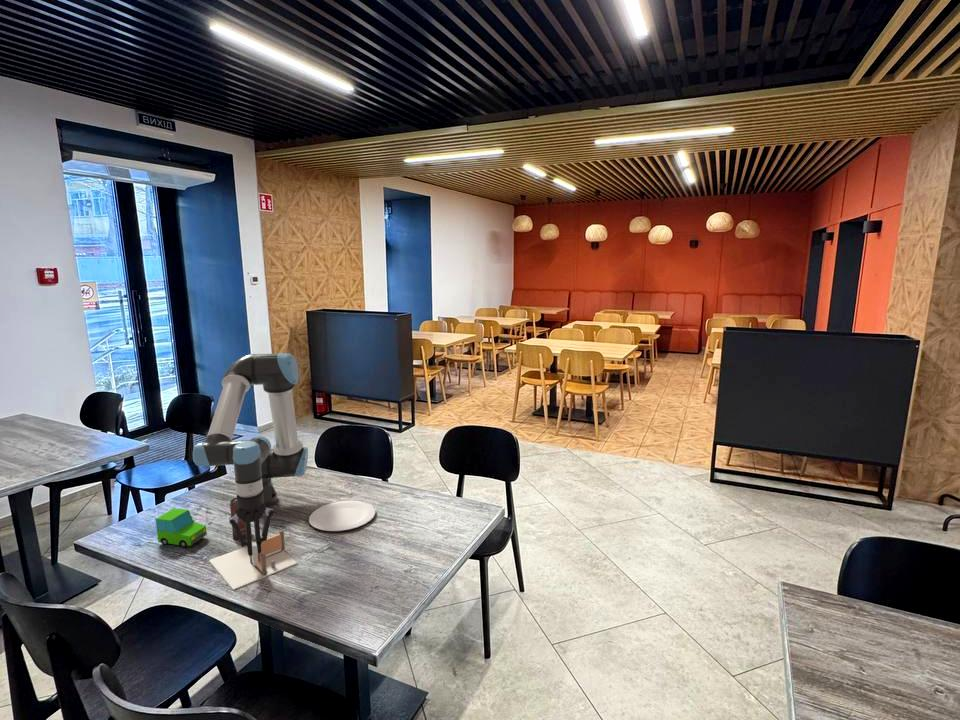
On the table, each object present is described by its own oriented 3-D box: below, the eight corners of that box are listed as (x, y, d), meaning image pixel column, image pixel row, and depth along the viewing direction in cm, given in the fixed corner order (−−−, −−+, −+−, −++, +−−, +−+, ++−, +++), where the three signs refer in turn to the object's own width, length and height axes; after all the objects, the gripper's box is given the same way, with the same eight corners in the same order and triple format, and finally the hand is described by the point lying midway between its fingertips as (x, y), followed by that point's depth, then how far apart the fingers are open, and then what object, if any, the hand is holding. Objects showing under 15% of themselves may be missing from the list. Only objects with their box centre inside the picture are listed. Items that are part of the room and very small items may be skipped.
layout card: (269, 539, 183) (268, 532, 182) (297, 563, 167) (296, 557, 167) (208, 561, 169) (208, 554, 168) (233, 590, 153) (232, 583, 153)
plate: (294, 527, 192) (294, 523, 191) (336, 499, 215) (336, 496, 214) (350, 540, 182) (349, 535, 182) (387, 510, 205) (387, 506, 205)
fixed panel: (283, 548, 176) (282, 529, 175) (285, 549, 175) (284, 530, 174) (249, 561, 168) (247, 541, 167) (251, 563, 167) (249, 543, 166)
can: (233, 542, 180) (230, 505, 178) (232, 534, 186) (229, 498, 184) (252, 538, 183) (249, 501, 181) (250, 530, 189) (247, 494, 186)
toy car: (189, 551, 175) (186, 523, 173) (156, 546, 178) (153, 520, 176) (210, 536, 185) (208, 510, 183) (179, 532, 188) (176, 506, 186)
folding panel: (251, 563, 166) (250, 544, 165) (256, 561, 167) (254, 542, 166) (263, 575, 160) (261, 556, 158) (267, 573, 160) (266, 554, 159)
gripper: (228, 502, 151) (234, 575, 155) (274, 492, 158) (279, 562, 162) (225, 493, 157) (231, 563, 161) (269, 483, 164) (274, 552, 168)
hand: (255, 563), depth 161 cm, fingers closed
